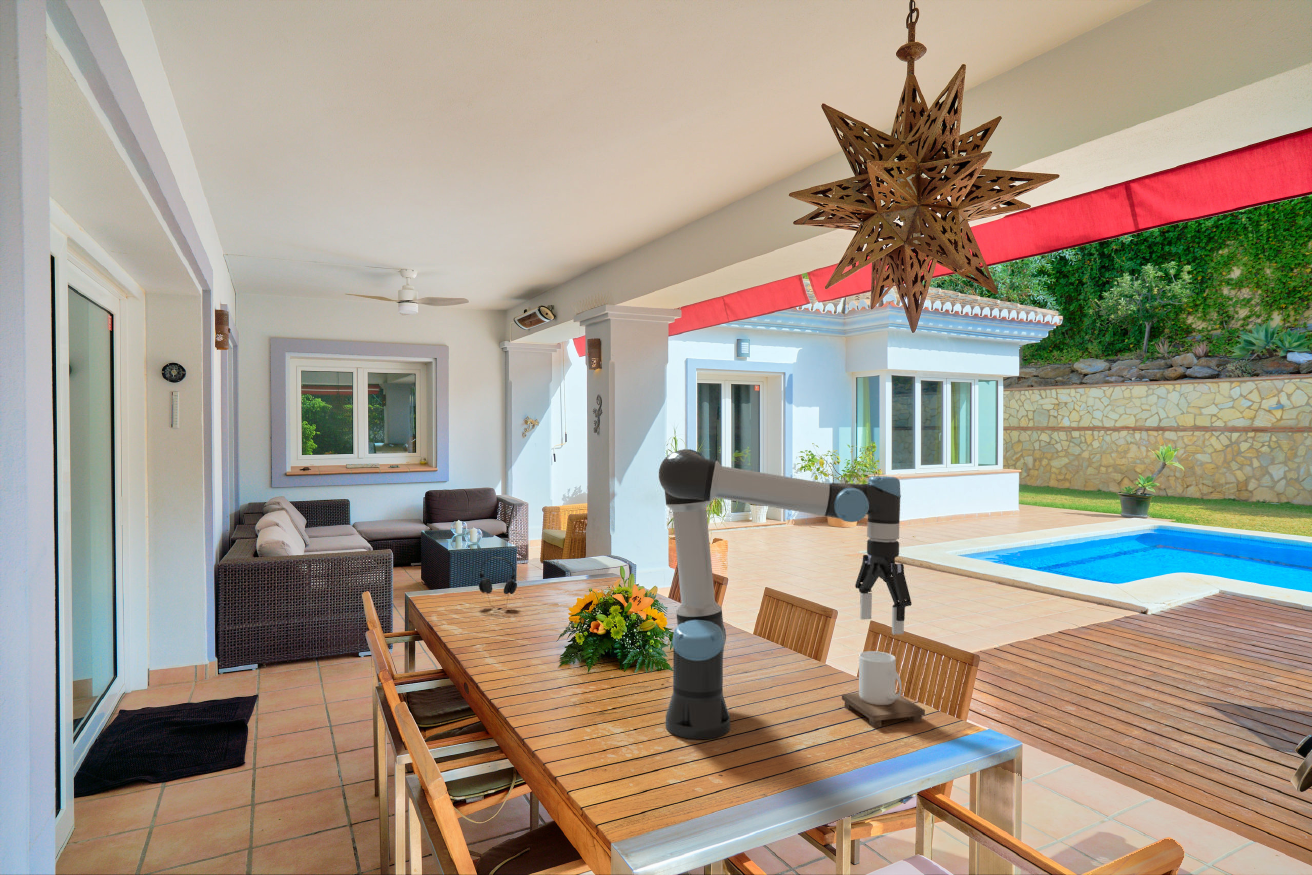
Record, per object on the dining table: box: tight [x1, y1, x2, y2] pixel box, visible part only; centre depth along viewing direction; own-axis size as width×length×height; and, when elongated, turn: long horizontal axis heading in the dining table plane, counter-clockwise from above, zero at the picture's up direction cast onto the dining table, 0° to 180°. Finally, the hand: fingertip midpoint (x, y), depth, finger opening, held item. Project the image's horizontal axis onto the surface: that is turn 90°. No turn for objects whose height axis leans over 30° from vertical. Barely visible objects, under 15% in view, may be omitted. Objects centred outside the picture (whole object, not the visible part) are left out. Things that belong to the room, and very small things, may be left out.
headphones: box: [478, 556, 518, 614], centre depth 277 cm, size 15×11×20 cm
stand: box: [841, 692, 926, 729], centre depth 175 cm, size 14×14×3 cm
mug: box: [858, 650, 902, 705], centre depth 175 cm, size 9×12×11 cm
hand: (881, 626), depth 175 cm, fingers open, 13 cm apart
